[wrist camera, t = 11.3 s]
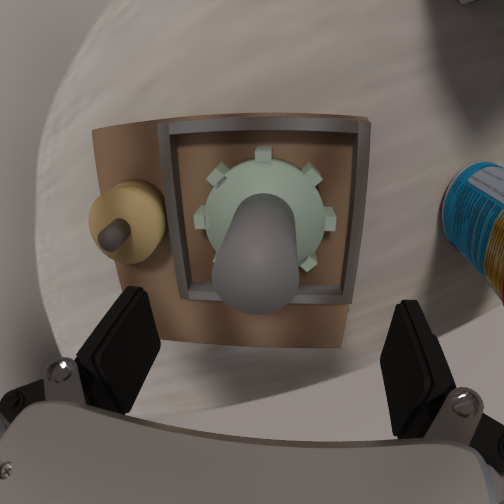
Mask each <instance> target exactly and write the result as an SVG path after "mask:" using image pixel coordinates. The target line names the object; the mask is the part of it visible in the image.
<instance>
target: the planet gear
mask: <svg viewBox="0 0 504 504" xmlns="http://www.w3.org/2000/svg"><path fill="white" fill-rule="evenodd" d="M206 180H207V181H208V182H209V183H211V184H212V185H213V186H214V187H213V189H212V191H211V192H210V194H209V196H208V199H207V202H206V205H201V206H200V207H199V208H198V210H197V211H196V212H195V214H194V225H195V229H205V230H206V233H207V236H208V239H209V241H210V243H211V245H212V246H213V248H214V249H215V251H216V254H215V256H214V259H213V262H214V265H213V268H212V283H213V286H214V289H215V291H216V293H217V294H218V296H219V297H220V298H221V299H222V301H223V302H225V303H226V304H227V305H228V306H230V307H231V308H233V309H235V310H237V311H240V312H243V313H246V314H253V315H263V314H269V313H272V312H275V311H278V310H280V309H281V308H283V307H284V306H286V305H287V304H288V303H289V302H290V301H291V300H292V299H293V297H294V296H295V294H296V292H297V289H298V285H299V271H298V267H299V266H301V267H302V268H303V269H304V270H305V271H306V272H308V271H309V270H310V269H312V268H313V267H314V266H315V265H317V264H318V263H317V257H316V252H315V251H316V250H317V248H318V246H319V245H320V242H321V240H322V238H323V234H324V231H335V229H336V215H335V212H334V210H333V207H324V206H323V203H322V200H321V197H320V194H319V192H318V189H317V187H316V185H317V184H318V183H319V182H321V181H322V180H323V179H322V177H321V174H320V172H319V171H318V170H317V169H316V168H315V167H314V166H313V165H312V164H311V163H310V162H309V163H308V164H307V165H305V166H304V167H303V168H302V169H301V168H299V167H298V166H296V165H295V164H293V163H291V162H289V161H286V160H283V159H280V158H275V157H273V148H272V146H257V148H256V150H255V158H250V159H247V160H244V161H242V162H240V163H238V164H236V165H234V166H233V167H231V168H230V169H229V168H228V167H227V166H226V165H225V164H224V163H222V162H221V163H220V164H219V165H218V166H217V167H216V168H215V169H214V170H213V171H212V172H211V174H210V175H209V176H208V177H207V178H206Z"/></svg>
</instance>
